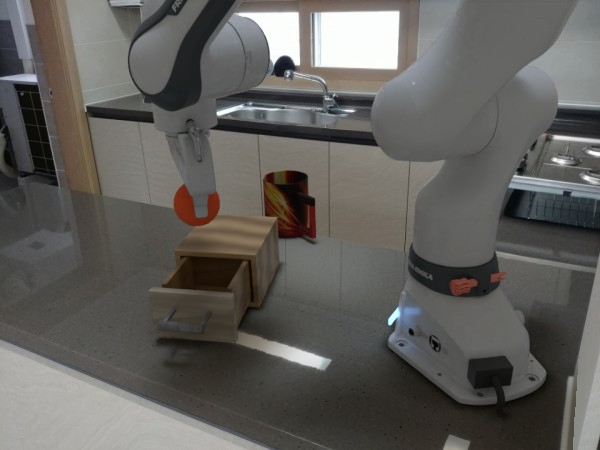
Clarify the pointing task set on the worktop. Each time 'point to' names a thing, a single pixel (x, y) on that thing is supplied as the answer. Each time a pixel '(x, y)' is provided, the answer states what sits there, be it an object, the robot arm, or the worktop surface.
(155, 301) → the drawer
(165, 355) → the worktop surface
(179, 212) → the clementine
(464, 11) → the robot arm
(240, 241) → the cabinet
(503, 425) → the worktop surface
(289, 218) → the mug
